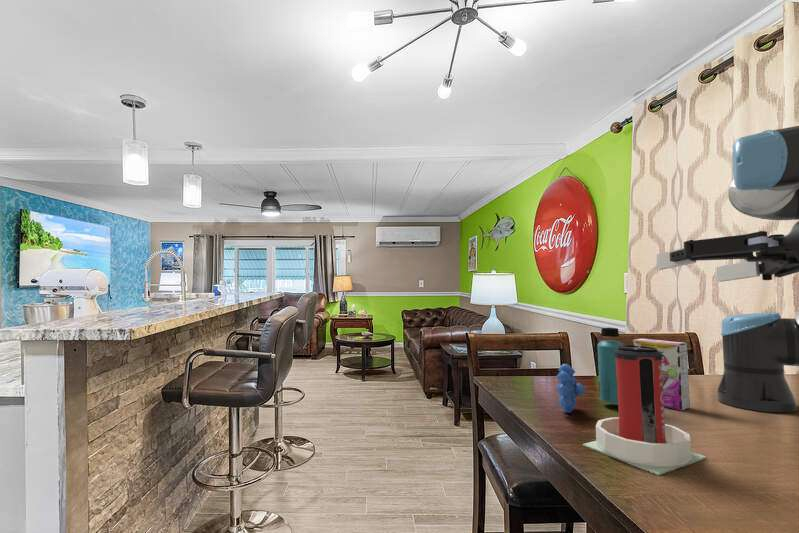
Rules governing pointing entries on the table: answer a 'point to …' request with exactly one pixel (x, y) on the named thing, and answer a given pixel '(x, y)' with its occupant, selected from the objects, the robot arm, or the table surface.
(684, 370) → the candy bar box
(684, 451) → the bowl
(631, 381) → the speaker
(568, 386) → the grapes
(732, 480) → the table surface
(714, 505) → the table surface
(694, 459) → the mat
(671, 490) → the table surface
